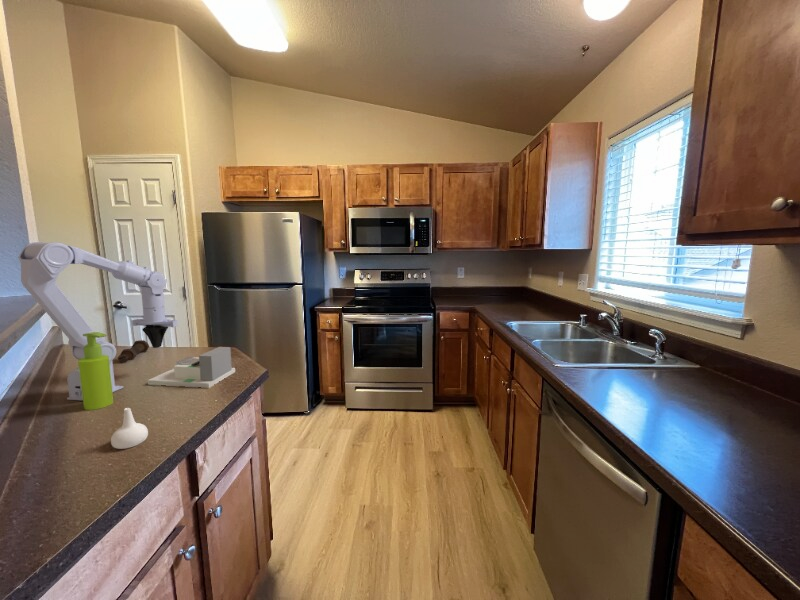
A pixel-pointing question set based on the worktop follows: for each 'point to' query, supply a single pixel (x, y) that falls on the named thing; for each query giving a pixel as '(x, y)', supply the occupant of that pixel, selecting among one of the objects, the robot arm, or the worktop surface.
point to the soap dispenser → (95, 374)
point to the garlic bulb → (129, 432)
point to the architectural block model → (199, 371)
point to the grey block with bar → (189, 361)
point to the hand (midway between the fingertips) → (157, 347)
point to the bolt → (133, 351)
